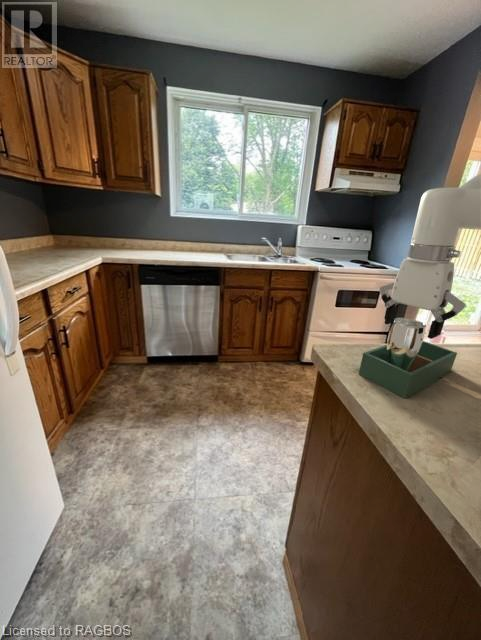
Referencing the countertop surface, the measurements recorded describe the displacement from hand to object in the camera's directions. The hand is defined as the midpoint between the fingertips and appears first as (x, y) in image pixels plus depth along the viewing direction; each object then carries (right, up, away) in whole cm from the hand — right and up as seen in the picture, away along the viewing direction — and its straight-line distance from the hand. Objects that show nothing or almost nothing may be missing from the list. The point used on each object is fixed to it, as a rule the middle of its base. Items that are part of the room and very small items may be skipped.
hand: (409, 329), depth 62 cm
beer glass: (-1, -13, +5) cm, 13 cm away
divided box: (+3, -12, +7) cm, 14 cm away
